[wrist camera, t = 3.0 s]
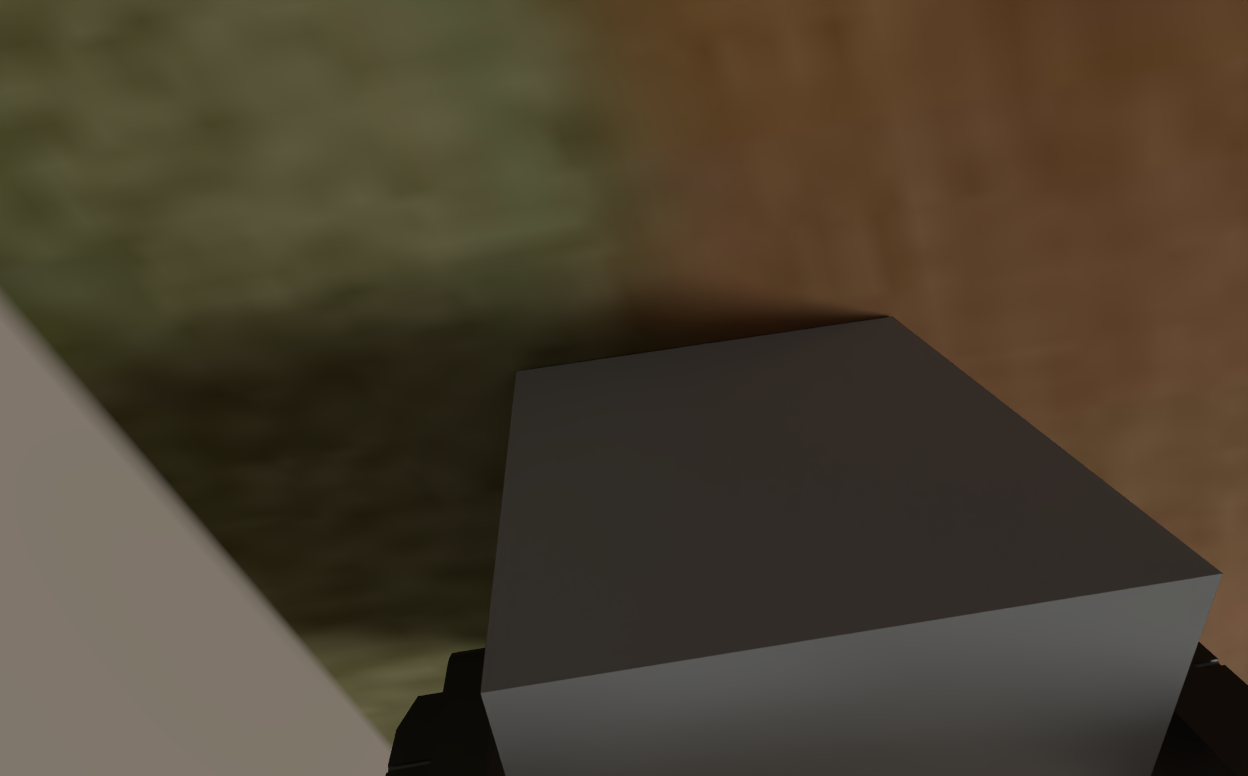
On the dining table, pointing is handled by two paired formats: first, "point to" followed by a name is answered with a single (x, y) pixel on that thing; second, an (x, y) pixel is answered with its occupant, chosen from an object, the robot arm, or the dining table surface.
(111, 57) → the dining table surface
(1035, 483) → the matte gray cube
